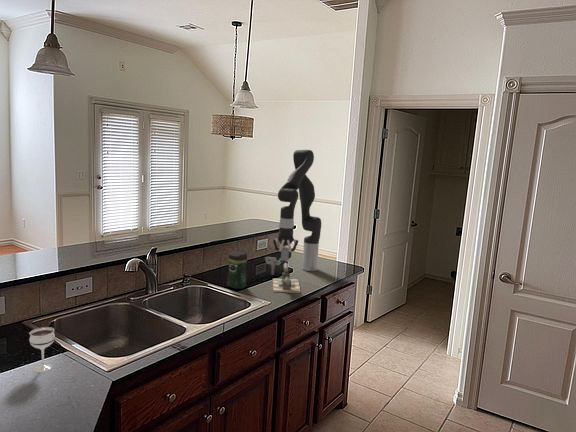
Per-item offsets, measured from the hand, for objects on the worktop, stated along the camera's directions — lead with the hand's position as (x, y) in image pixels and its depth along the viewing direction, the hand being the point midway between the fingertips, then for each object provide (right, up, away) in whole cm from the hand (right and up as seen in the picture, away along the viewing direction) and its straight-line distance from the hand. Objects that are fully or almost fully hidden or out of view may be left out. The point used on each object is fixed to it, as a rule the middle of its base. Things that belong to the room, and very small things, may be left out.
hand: (284, 258), depth 221 cm
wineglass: (-74, -25, -93) cm, 121 cm away
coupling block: (0, -1, 0) cm, 1 cm away
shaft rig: (+1, -15, +1) cm, 15 cm away
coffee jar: (-25, -15, -4) cm, 29 cm away
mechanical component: (-7, -12, +22) cm, 26 cm away
